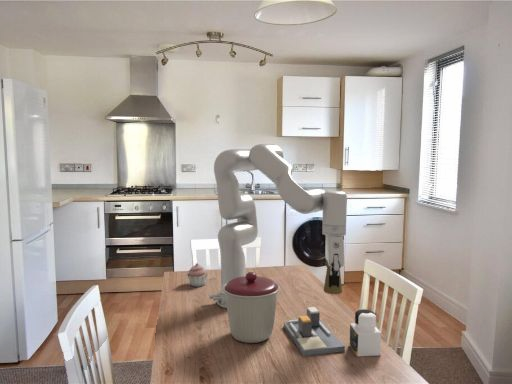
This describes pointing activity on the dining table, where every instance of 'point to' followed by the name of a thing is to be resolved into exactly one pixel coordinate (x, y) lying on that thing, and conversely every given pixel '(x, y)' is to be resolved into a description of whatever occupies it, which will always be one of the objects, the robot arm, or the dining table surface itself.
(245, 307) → the canister
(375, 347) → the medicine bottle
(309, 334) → the block
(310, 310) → the toggle plain
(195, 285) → the cupcake
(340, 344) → the panel
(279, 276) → the dining table surface
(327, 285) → the cork
